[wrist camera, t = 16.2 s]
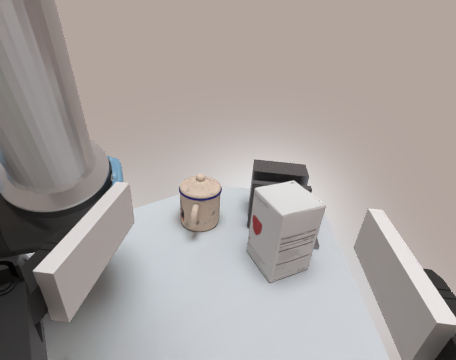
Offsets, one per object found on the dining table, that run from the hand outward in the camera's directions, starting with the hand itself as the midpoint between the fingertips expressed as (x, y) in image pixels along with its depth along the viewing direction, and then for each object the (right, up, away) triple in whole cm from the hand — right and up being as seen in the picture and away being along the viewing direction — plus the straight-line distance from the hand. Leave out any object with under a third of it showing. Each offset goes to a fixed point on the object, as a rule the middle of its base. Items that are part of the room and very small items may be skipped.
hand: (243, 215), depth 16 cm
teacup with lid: (-8, -8, +47) cm, 48 cm away
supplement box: (+8, -14, +39) cm, 42 cm away
